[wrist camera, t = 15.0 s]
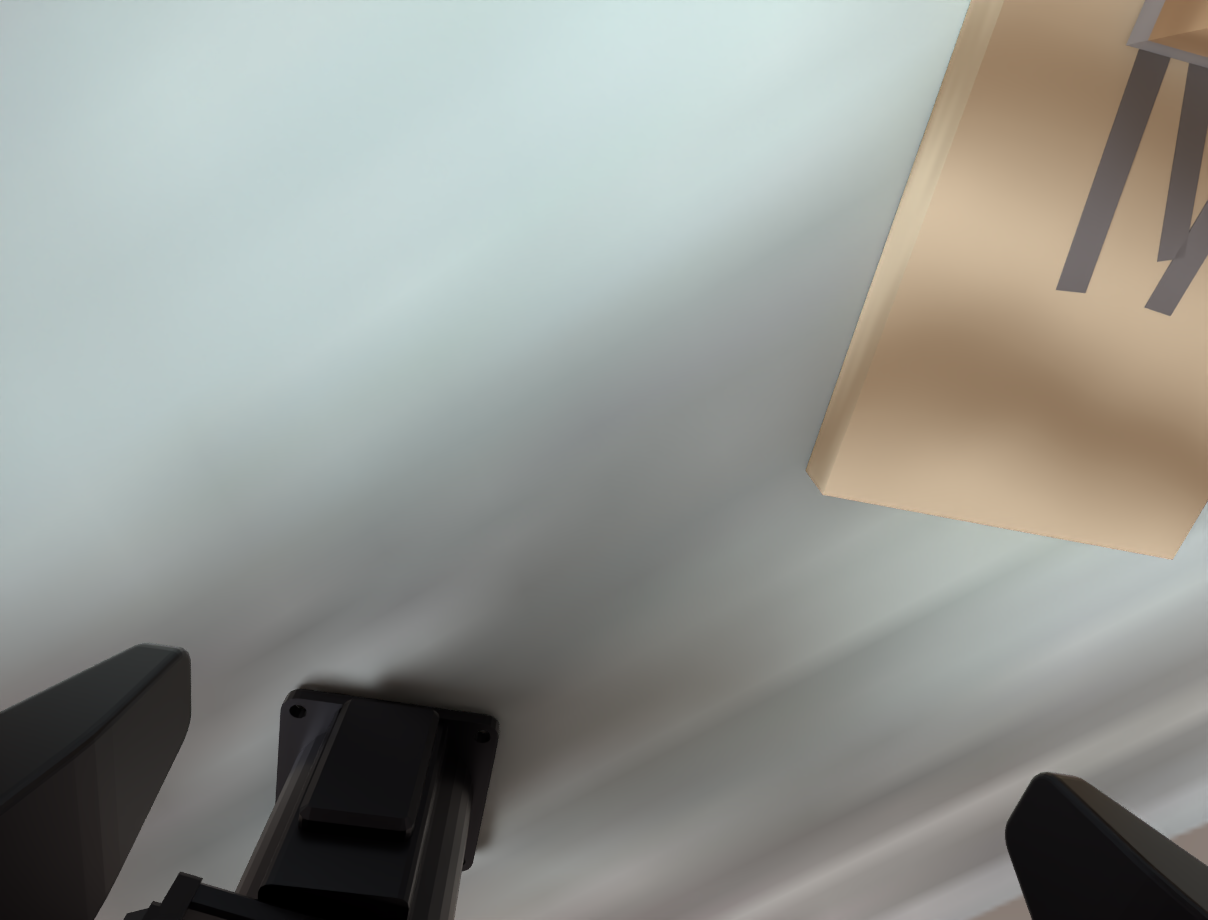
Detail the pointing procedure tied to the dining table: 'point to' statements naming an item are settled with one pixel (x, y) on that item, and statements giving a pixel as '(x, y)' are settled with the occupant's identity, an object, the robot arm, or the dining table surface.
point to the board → (1041, 293)
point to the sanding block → (1173, 30)
